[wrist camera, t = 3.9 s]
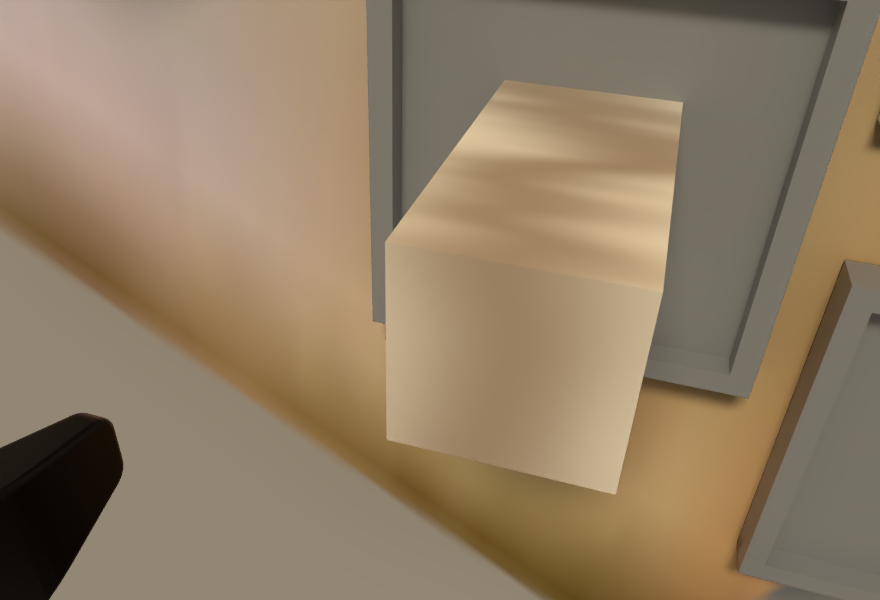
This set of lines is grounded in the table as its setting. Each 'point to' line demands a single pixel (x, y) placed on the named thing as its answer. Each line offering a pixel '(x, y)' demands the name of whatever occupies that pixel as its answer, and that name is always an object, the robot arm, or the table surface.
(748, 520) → the tray
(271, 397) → the table surface
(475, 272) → the tan rectangular block
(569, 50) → the tray
